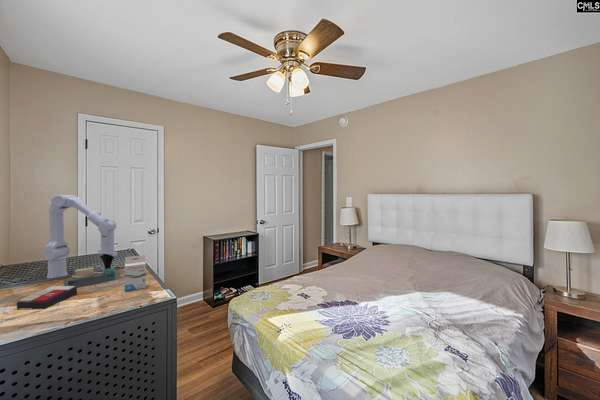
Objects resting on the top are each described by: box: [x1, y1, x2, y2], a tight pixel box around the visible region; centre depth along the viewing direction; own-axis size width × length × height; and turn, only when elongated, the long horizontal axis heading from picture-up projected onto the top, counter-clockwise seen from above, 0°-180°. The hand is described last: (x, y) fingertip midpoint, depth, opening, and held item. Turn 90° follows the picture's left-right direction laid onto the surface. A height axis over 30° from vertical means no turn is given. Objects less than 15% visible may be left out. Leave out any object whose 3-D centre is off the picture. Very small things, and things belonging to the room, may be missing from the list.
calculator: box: [16, 285, 78, 310], centre depth 108 cm, size 11×4×15 cm
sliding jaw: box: [71, 266, 116, 279], centre depth 137 cm, size 3×18×4 cm, turn 134°
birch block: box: [74, 266, 95, 278], centre depth 131 cm, size 4×7×6 cm, turn 134°
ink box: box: [124, 254, 147, 292], centre depth 123 cm, size 8×5×15 cm, turn 123°
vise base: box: [63, 270, 123, 288], centre depth 134 cm, size 19×22×4 cm
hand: (107, 268), depth 143 cm, fingers closed
